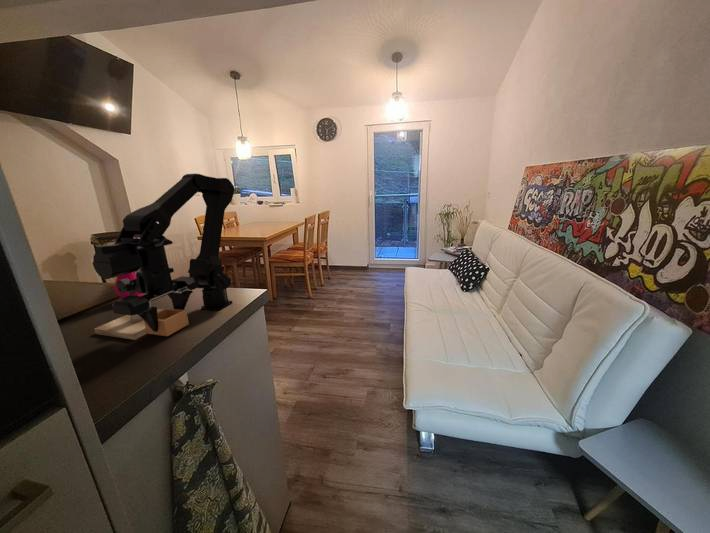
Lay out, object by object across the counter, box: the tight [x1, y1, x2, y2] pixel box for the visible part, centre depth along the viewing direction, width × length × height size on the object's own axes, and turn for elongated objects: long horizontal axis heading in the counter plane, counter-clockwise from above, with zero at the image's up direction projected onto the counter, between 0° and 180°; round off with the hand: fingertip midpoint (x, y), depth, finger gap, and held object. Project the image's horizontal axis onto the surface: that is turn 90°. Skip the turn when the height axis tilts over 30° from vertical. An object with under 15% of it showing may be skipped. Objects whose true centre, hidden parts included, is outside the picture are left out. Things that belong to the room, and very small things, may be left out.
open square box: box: [144, 307, 190, 337], centre depth 70 cm, size 6×6×4 cm
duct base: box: [94, 308, 162, 341], centre depth 74 cm, size 13×13×8 cm
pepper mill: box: [113, 240, 144, 300], centre depth 89 cm, size 7×7×20 cm
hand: (167, 324), depth 71 cm, fingers closed on open square box, 6 cm apart
